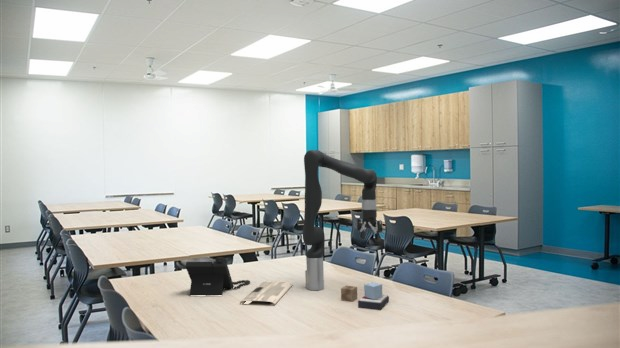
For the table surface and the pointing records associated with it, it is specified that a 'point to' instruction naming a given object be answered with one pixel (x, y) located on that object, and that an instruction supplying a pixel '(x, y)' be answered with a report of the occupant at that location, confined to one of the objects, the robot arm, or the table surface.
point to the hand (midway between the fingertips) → (369, 239)
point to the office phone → (210, 277)
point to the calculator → (373, 302)
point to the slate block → (373, 290)
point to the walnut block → (349, 293)
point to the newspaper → (268, 292)
